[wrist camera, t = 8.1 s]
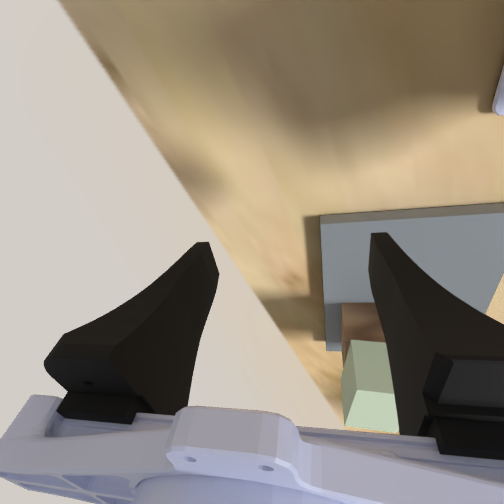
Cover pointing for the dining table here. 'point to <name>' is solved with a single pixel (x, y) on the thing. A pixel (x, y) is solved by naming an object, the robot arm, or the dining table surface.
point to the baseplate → (413, 254)
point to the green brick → (368, 388)
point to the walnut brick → (359, 325)
